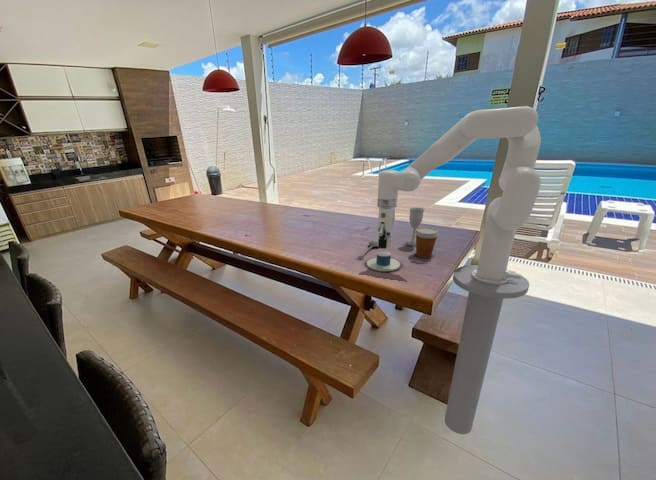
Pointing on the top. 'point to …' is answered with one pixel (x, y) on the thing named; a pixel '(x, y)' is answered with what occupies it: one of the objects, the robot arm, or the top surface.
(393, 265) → the saucer
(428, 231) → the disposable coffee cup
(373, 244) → the soupspoon
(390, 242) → the cylinder
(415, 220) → the chalice
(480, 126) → the robot arm
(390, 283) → the top surface
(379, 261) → the cylinder
